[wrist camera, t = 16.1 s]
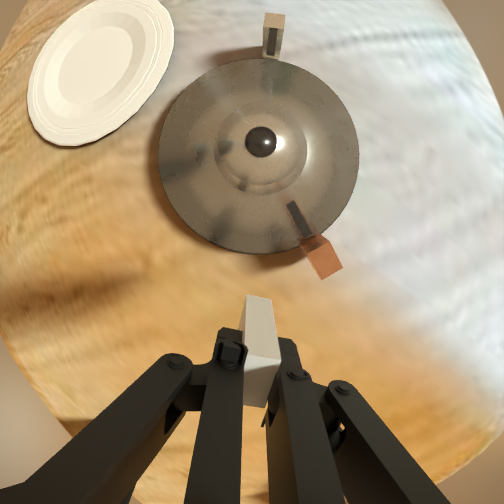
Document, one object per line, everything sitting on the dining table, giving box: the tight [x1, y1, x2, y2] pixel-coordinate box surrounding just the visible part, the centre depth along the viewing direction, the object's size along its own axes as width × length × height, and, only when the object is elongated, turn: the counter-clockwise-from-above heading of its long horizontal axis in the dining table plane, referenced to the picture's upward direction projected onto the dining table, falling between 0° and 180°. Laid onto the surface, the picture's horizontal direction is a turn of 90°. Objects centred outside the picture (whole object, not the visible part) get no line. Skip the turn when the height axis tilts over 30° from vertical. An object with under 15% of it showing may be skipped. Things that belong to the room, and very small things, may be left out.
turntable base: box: [159, 13, 357, 255], centre depth 28 cm, size 25×23×8 cm
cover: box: [214, 102, 307, 195], centre depth 27 cm, size 10×10×6 cm
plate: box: [27, 0, 174, 146], centre depth 29 cm, size 25×25×2 cm
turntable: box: [158, 59, 359, 280], centre depth 28 cm, size 25×22×6 cm
